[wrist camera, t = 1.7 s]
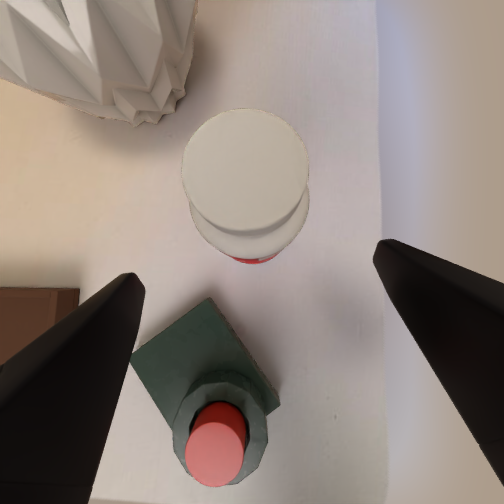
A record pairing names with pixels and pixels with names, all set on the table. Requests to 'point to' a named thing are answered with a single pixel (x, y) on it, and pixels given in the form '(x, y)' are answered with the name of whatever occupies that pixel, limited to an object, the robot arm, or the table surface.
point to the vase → (100, 53)
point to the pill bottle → (247, 183)
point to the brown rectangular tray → (31, 315)
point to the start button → (216, 444)
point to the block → (206, 379)
